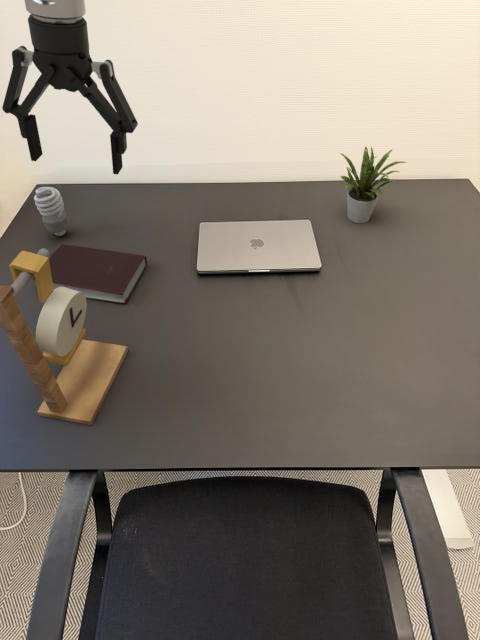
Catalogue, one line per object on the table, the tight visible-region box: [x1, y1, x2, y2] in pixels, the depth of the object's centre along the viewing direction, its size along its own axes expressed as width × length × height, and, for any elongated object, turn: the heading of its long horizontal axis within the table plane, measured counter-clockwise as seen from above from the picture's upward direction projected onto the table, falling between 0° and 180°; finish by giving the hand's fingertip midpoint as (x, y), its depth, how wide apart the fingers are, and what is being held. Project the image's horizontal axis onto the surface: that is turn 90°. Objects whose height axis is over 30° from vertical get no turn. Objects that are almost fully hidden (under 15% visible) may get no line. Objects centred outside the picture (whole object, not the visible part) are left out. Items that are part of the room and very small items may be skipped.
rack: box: [0, 247, 129, 426], centre depth 70 cm, size 9×16×26 cm, turn 168°
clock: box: [9, 250, 87, 366], centre depth 68 cm, size 7×10×17 cm
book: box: [32, 243, 148, 304], centre depth 96 cm, size 12×19×3 cm, turn 77°
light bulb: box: [33, 186, 70, 237], centre depth 103 cm, size 6×6×12 cm
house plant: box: [339, 146, 407, 224], centre depth 104 cm, size 14×14×16 cm
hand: (77, 164), depth 78 cm, fingers open, 13 cm apart
